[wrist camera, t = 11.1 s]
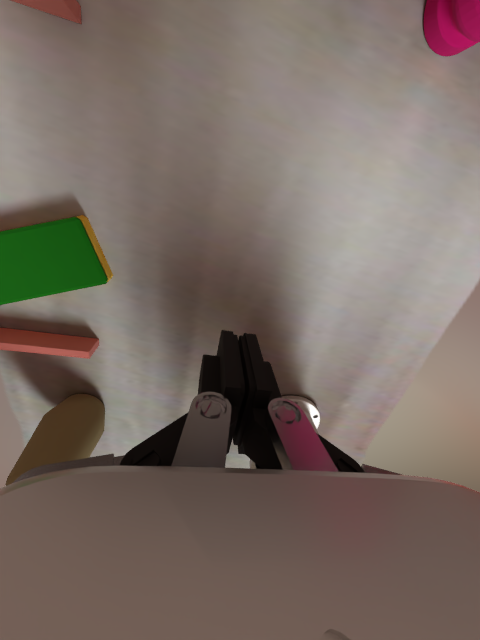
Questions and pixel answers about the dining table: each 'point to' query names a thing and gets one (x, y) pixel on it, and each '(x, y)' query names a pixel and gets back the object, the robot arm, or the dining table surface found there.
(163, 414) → the dining table surface
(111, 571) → the robot arm
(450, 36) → the pepper mill
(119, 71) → the dining table surface
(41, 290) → the dish sponge
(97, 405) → the squeeze bottle
